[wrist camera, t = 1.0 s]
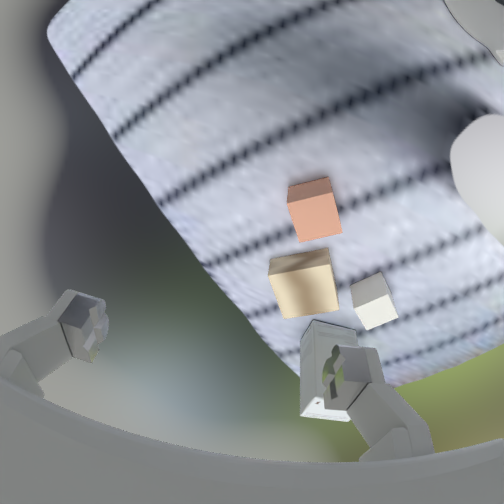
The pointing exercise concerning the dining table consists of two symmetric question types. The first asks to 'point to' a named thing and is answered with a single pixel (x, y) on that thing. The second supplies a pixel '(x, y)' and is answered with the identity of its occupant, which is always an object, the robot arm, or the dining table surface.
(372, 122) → the dining table surface
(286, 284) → the beech base
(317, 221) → the terracotta cube
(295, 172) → the dining table surface
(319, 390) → the skincare box
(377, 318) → the offwhite cube
